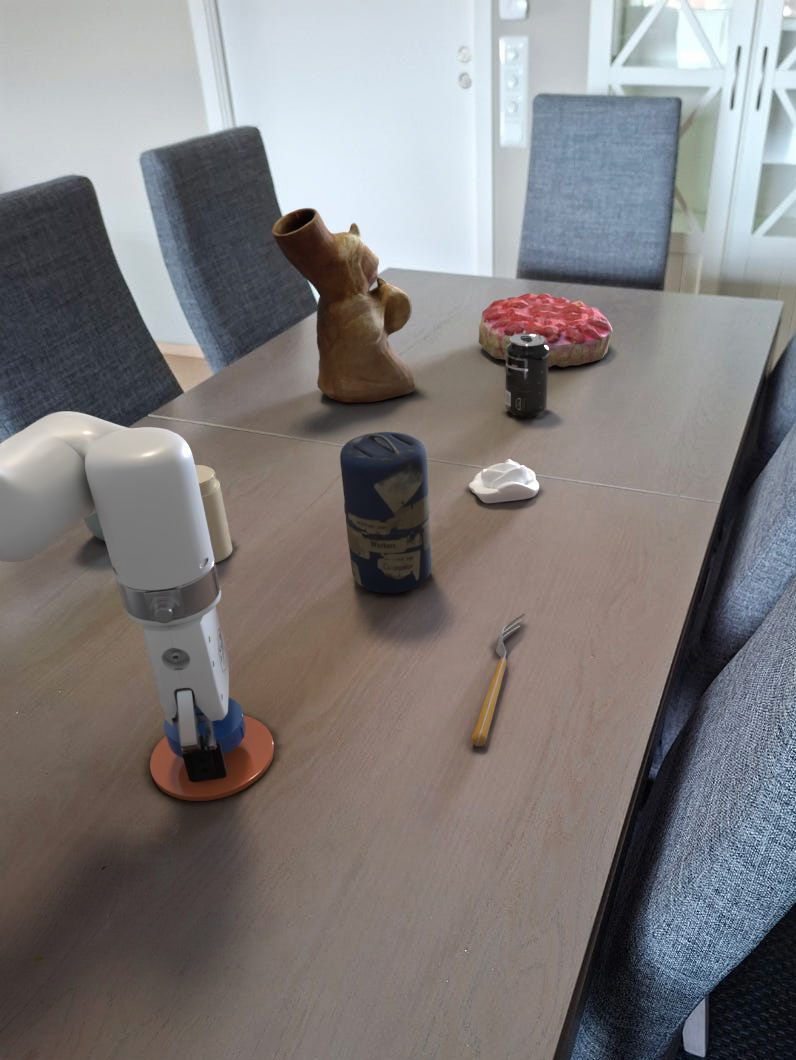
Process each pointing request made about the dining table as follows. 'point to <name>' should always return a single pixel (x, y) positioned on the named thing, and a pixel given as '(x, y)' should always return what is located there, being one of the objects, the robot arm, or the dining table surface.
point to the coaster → (240, 764)
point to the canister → (387, 510)
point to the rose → (505, 483)
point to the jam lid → (225, 730)
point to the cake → (547, 327)
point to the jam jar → (214, 512)
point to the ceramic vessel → (348, 309)
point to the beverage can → (526, 375)
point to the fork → (493, 689)
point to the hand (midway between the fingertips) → (209, 748)
